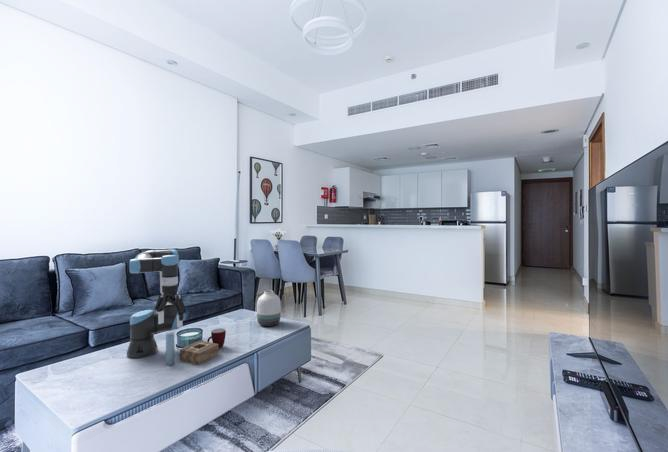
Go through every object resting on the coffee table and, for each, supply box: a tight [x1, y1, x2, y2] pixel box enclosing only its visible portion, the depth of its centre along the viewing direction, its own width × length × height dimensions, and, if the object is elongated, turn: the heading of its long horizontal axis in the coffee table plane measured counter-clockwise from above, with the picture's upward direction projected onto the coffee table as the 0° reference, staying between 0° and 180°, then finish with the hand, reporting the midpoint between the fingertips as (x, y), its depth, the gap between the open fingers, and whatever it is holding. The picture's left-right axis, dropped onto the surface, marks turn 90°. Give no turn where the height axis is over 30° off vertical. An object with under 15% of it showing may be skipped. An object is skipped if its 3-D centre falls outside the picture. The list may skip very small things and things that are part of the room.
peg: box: [165, 331, 176, 367], centre depth 170 cm, size 4×4×16 cm
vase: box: [256, 290, 282, 327], centre depth 234 cm, size 17×17×24 cm
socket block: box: [179, 340, 220, 366], centre depth 178 cm, size 14×14×6 cm
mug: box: [206, 327, 227, 349], centre depth 191 cm, size 11×8×10 cm
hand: (170, 325), depth 170 cm, fingers open, 13 cm apart
